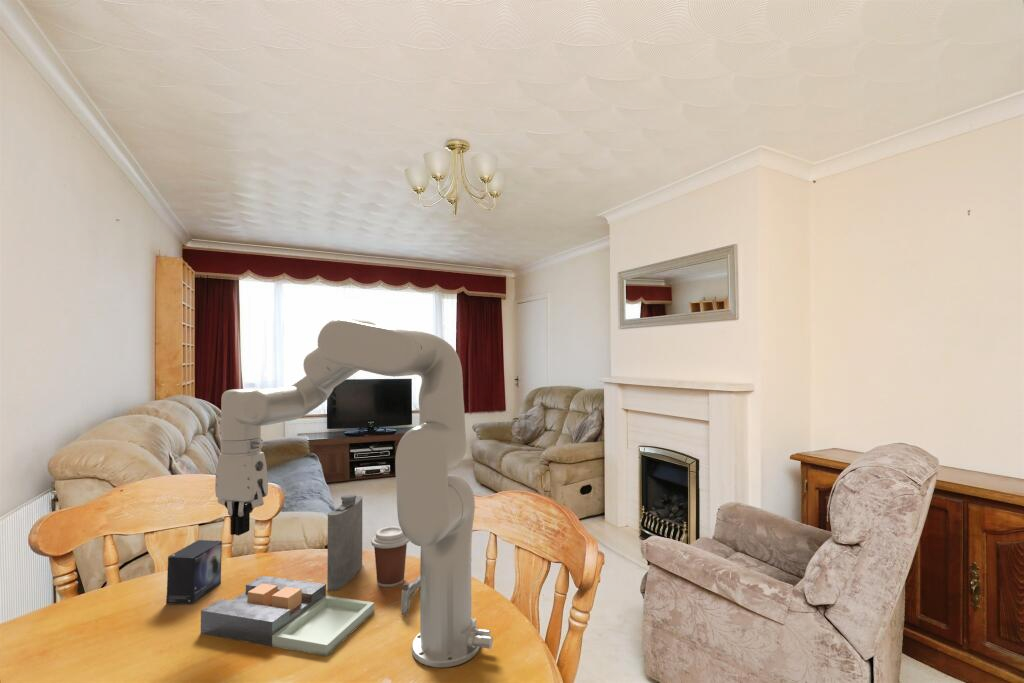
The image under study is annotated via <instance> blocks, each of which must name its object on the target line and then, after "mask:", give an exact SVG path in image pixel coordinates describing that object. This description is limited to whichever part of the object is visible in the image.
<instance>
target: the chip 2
mask: <svg viewBox="0 0 1024 683" xmlns="http://www.w3.org/2000/svg"><path fill="white" fill-rule="evenodd" d="M300 604H302V589H299V588H292V587H284V588H283V589H281V590H280V591H278V592H277V593H275V594H273V595H272V607H276V608H283V609H289V610H290V611H292V610H293V609H295V608H296V607H297V606H299V605H300Z"/></svg>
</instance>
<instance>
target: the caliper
mask: <svg viewBox="0 0 1024 683" xmlns="http://www.w3.org/2000/svg"><path fill="white" fill-rule="evenodd" d="M419 587H420V575H419V576H418V577H417V578H416V579H415V580H414V581H412V582H404V584H403V583H402V590H401V598H400V599H401V600H400V612H401V613H400V615H401V616H407V615H406V614H407V613H408V612H407V611H410V606H411V598H413V597H414V596H415V594H416V591H417V589H419Z"/></svg>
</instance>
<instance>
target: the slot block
mask: <svg viewBox="0 0 1024 683" xmlns="http://www.w3.org/2000/svg"><path fill="white" fill-rule="evenodd" d="M262 583H263V584H270V585H277V586H278V591H280V590H281V589H283V588H284V587H292V588H299V589H302V604H300V605H299V606H297V607H296V608H295V609H293V610H292V611H290V610H289V609H283V608H276V607H272V604H271V605H269V606H263V605H257V604H250V603H247V599H248V591H250V590H252V589H254V588H255V587H257V586H259V585H260V584H262ZM325 596H327V584H326V583H320V582H319V583H318V582H312V581H304V580H297V579H289V578H285V577H284V578H282V577H275V576H270V575H269V576H268V575H261V576H259V577H257V578H256V579H254V580H252V581H250V582H248V583H246V584H245V592H243V593H241V594H240V595H238V596H237V597H234V598H233V599H231V600H230V599H223V598H220V599H219V600H216V601H215V602H214V603H212V604H210V605H208V606H206V607H205V608H203V609H201V610H200V634H202V635H206V636H207V635H208V636H212V637H218V638H224V639H228V640H233V641H234V640H235V641H240V642H241V641H242V642H245V643H250V644H251V643H252V644H258V645H263V646H268V647H273V646H272V635H274V634H275V633H276V632H278V631H279V630H280V629H282V628H283V627H284V626H286V625H287V624H289V623H290V622H291V621H293V620H294V619H295V618H297V617H298V616H299V615H301V614H302V613H303V612H305V611H306V610H307V609H309V608H310V607H311V606H313V605H314V604H315V603H317V602H318V601H319V600H321V599H322V598H323V597H325Z"/></svg>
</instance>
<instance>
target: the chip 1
mask: <svg viewBox="0 0 1024 683" xmlns="http://www.w3.org/2000/svg"><path fill="white" fill-rule="evenodd" d="M277 592H278V586H277V585H270V584H263V583H262V584H260V585H259V586H257V587H255V588H254V589H252V590H250V591H248V599H247V603H250V604H257V605H263V606H269V605H271V604H272V595H273V594H275V593H277Z"/></svg>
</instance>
